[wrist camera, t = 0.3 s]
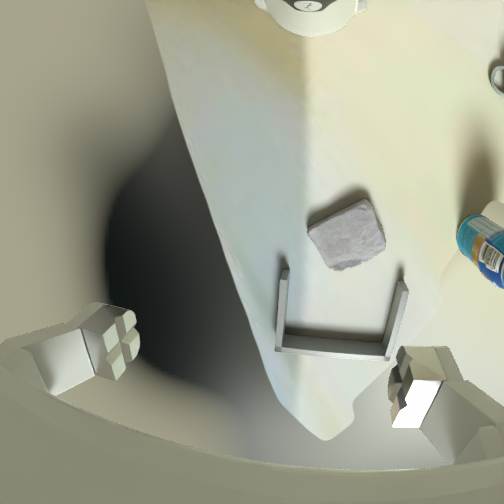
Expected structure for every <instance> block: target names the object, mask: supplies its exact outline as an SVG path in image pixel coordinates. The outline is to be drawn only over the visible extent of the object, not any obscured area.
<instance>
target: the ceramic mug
mask: <svg viewBox="0 0 504 504" xmlns="http://www.w3.org/2000/svg"><path fill="white" fill-rule="evenodd" d="M500 69H502V70H503V69H504V66H497V67H495V68H494V69H493V71H492V73H491V79H490V80H491V85H492V87H493V89H494V90H495V91H496V92H497V93H498V94H499V95H501V96H503V97H504V93H503V92H501V91H500V90H499V89H498V88H497V87H496V86H495V84H494V77H495V73H496V71H497V70H500Z"/></svg>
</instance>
